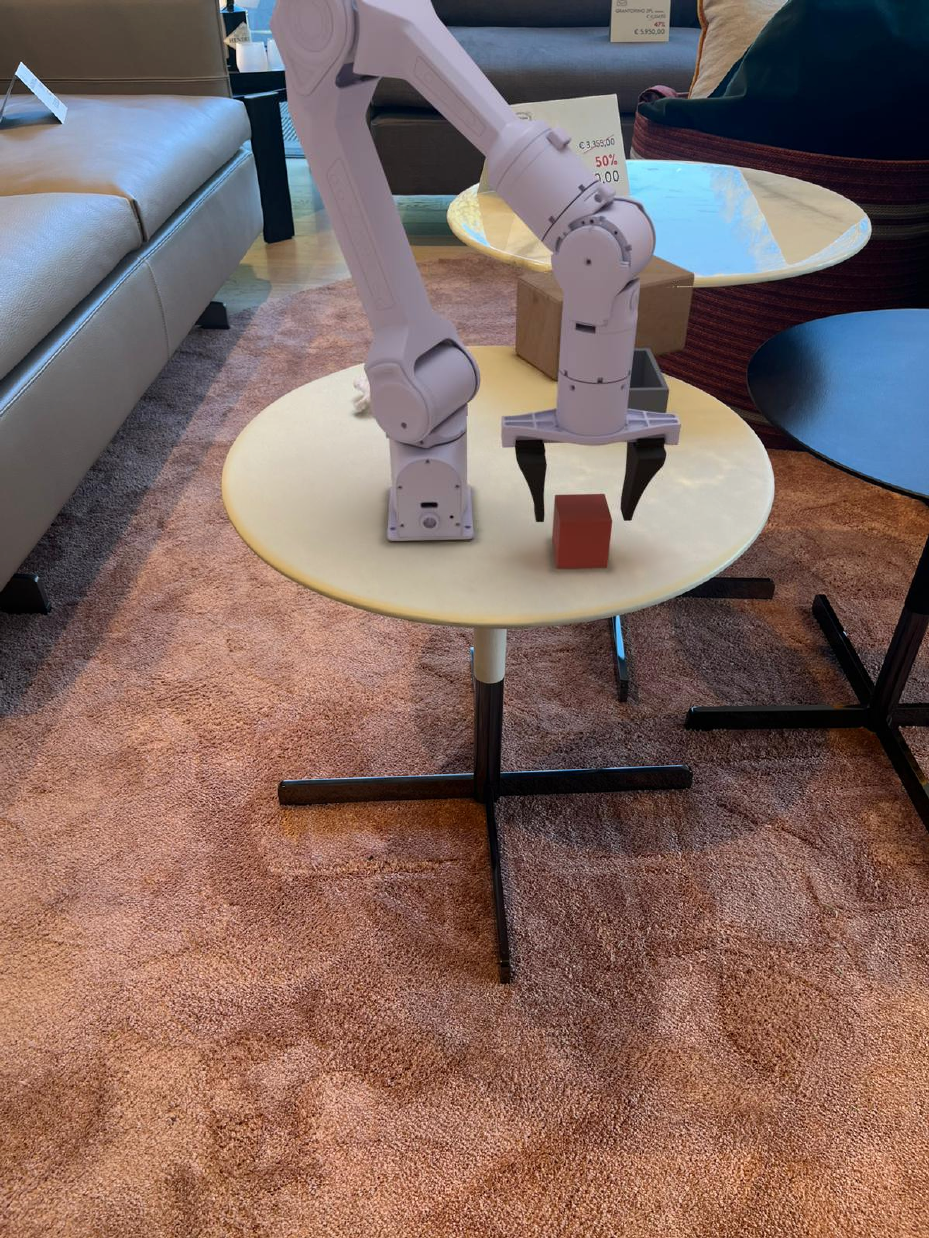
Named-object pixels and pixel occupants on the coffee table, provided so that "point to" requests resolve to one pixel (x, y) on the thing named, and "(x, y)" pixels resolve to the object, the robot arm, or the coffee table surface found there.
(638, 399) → the tub
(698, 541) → the coffee table surface
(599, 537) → the block
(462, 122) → the robot arm
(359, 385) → the white lumpy piece
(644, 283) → the wooden block
